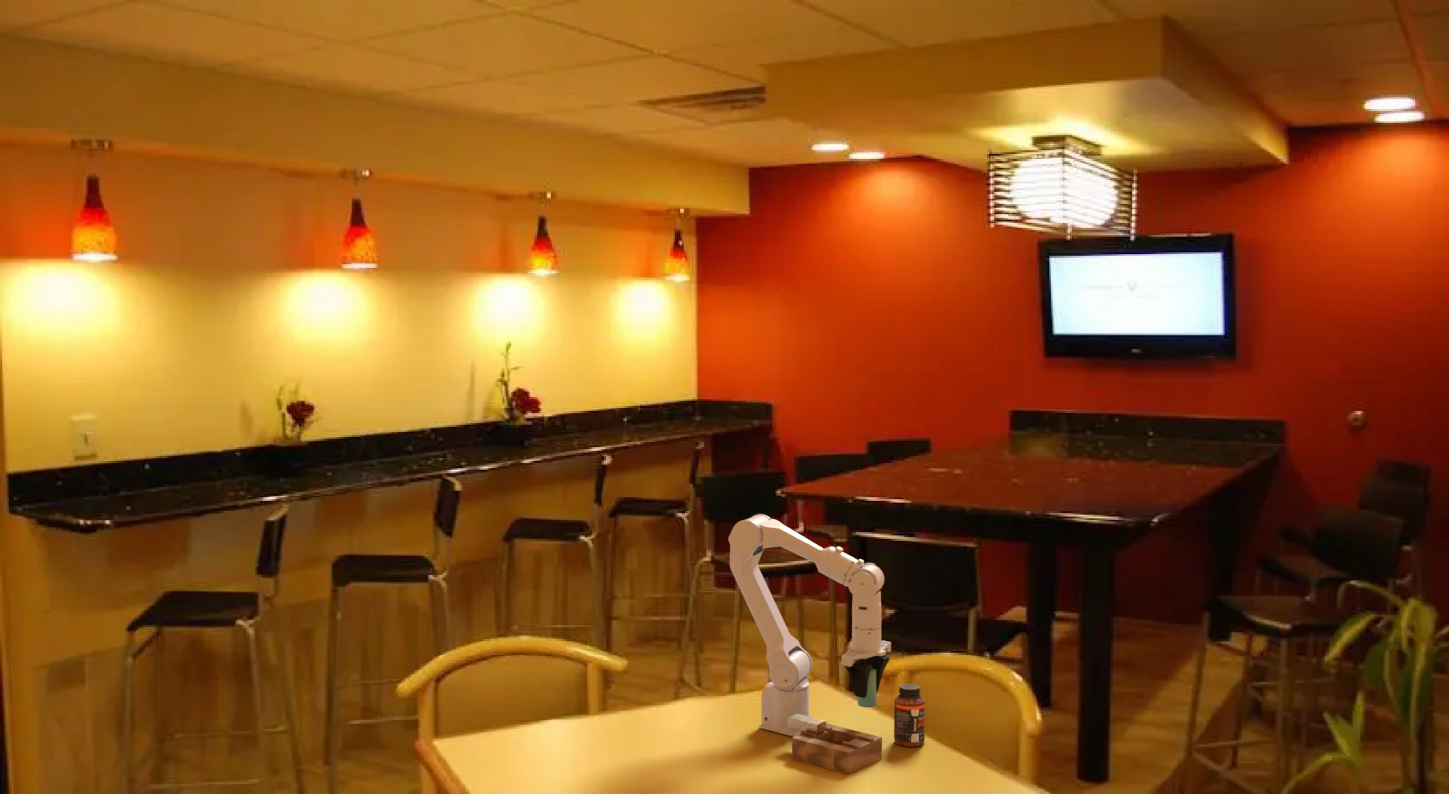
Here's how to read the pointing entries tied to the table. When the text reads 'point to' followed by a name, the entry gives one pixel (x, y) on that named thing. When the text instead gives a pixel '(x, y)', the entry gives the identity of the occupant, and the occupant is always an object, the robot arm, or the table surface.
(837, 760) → the dock
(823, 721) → the tan rectangular block
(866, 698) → the peg
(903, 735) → the supplement bottle
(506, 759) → the table surface
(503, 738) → the table surface
